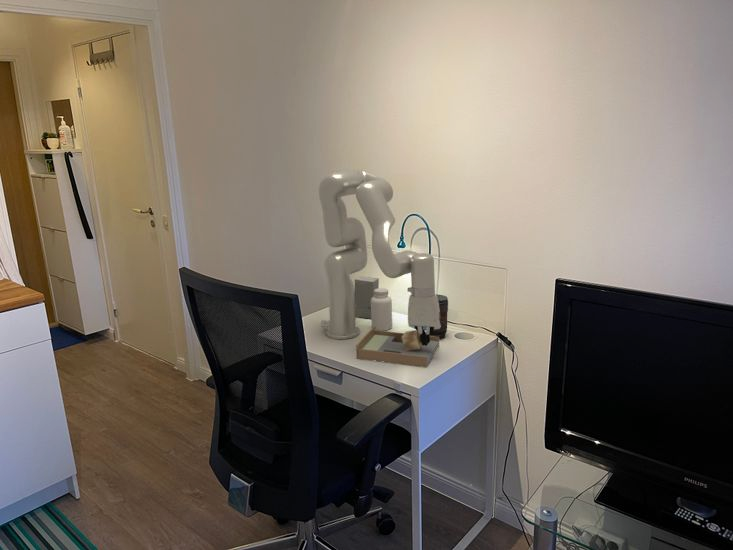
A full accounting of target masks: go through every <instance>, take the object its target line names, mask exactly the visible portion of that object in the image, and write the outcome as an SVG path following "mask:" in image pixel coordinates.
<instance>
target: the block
mask: <svg viewBox="0 0 733 550" xmlns="http://www.w3.org/2000/svg"><path fill="white" fill-rule="evenodd" d="M403 333H404V335H403V336H402V341H403V344H404V348H405V351H409V350H416V349H420V347H421V346H422V342H420V334H419V332H418V331H417V330H416V329H415V330H408V331H405V332H403Z"/></svg>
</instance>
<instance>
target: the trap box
mask: <svg viewBox="0 0 733 550" xmlns="http://www.w3.org/2000/svg"><path fill="white" fill-rule="evenodd" d="M404 333H405V332H398V331H397V332H395V331H388V330H383V331H380V330H376V328H375V326H374V327H373V328H372V327H371V329H370V330H369V331H368V332H366V334H365V335H364V336H363V337H362V338H361V339H360V340H359V341H358V343H356V344H355V346H356V347H355V348H356V349H355V350H356V359H358V360H364V359H367V360H366V361H372V360H376V361H375V362H380V361H384V362H383V363H388V362H390V363H389V364H396V363H397V364H396V365H405V366H412V365H414V366H413V367H420V366H423V367H422V368H427V367H428V366H429V365H428V364H430V363H431V361H432V359H433V358H432V357H434V356H433V355H435V354H436V353H435V352H437V351H438V349H439V347H440V339H439V337H435V336H430V343H428V345H427V346H425V345H424V346H421V347H420V349H416V350H409V351H405V348H404V344H403V341H402V336H403V335H404ZM437 348H438V349H437ZM436 350H437V351H436ZM430 360H431V361H430ZM429 362H430V363H429Z"/></svg>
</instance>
